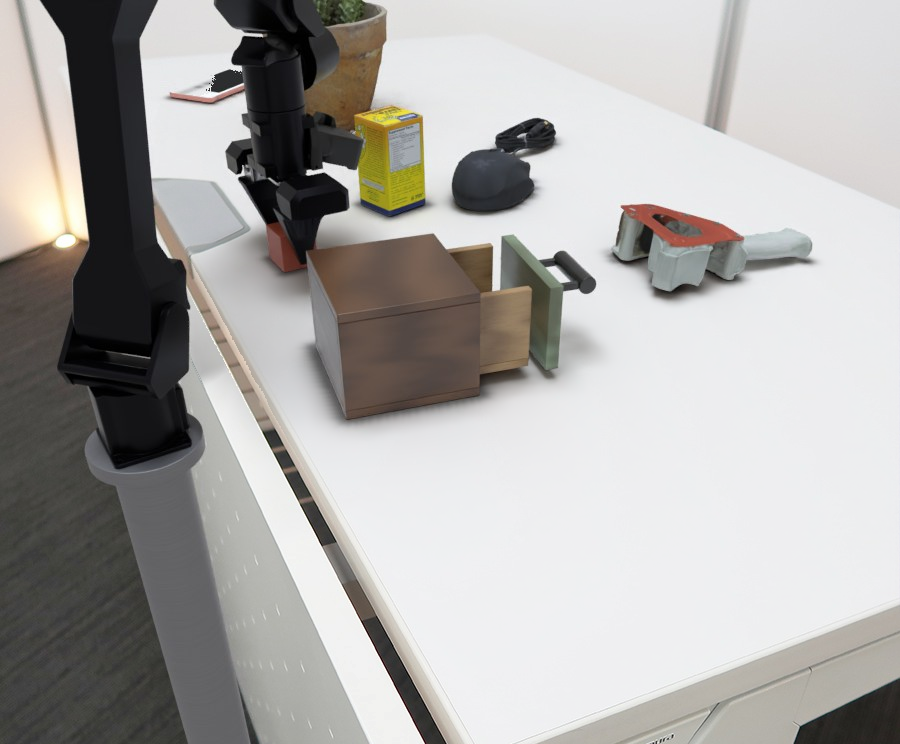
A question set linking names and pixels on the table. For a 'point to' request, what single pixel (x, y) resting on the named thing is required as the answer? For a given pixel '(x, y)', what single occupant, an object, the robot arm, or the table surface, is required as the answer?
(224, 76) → the cell phone
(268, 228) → the block
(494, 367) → the drawer
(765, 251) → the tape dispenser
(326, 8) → the potted plant
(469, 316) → the cabinet
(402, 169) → the supplement box
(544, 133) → the computer mouse
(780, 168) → the table surface
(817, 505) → the table surface
